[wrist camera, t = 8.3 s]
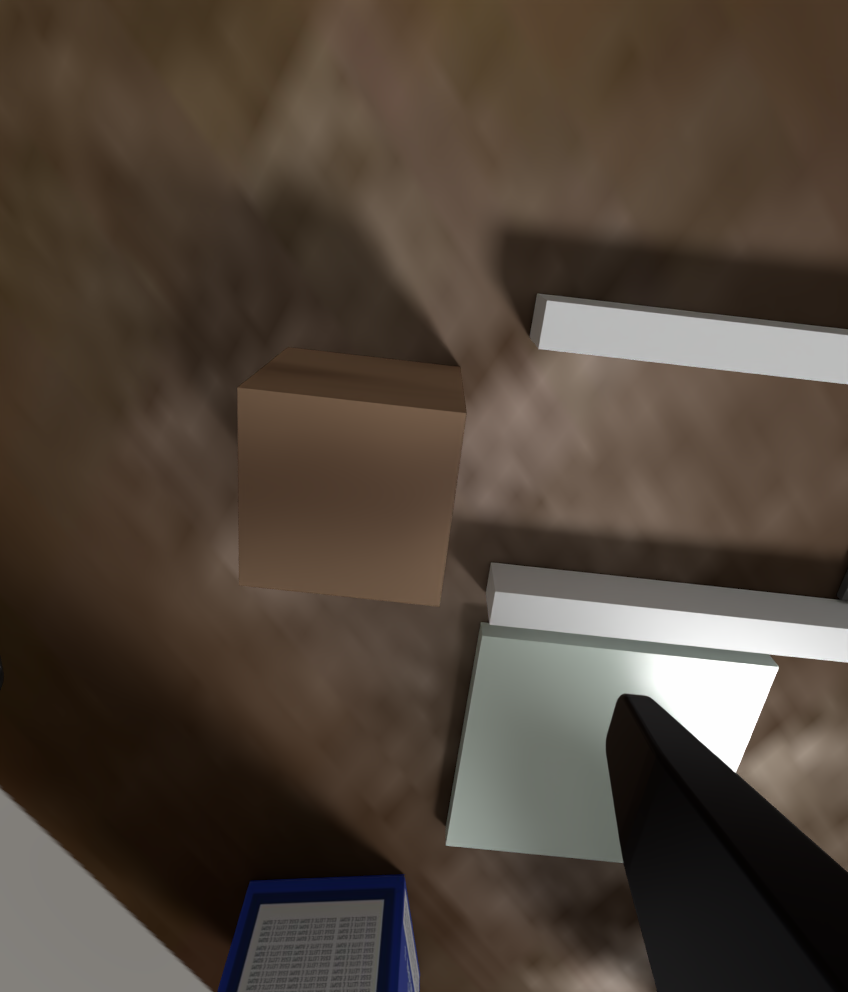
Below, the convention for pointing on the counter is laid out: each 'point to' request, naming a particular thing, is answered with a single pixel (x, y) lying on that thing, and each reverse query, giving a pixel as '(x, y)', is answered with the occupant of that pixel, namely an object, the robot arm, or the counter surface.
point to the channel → (662, 604)
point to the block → (348, 475)
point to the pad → (580, 731)
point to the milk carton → (324, 937)
